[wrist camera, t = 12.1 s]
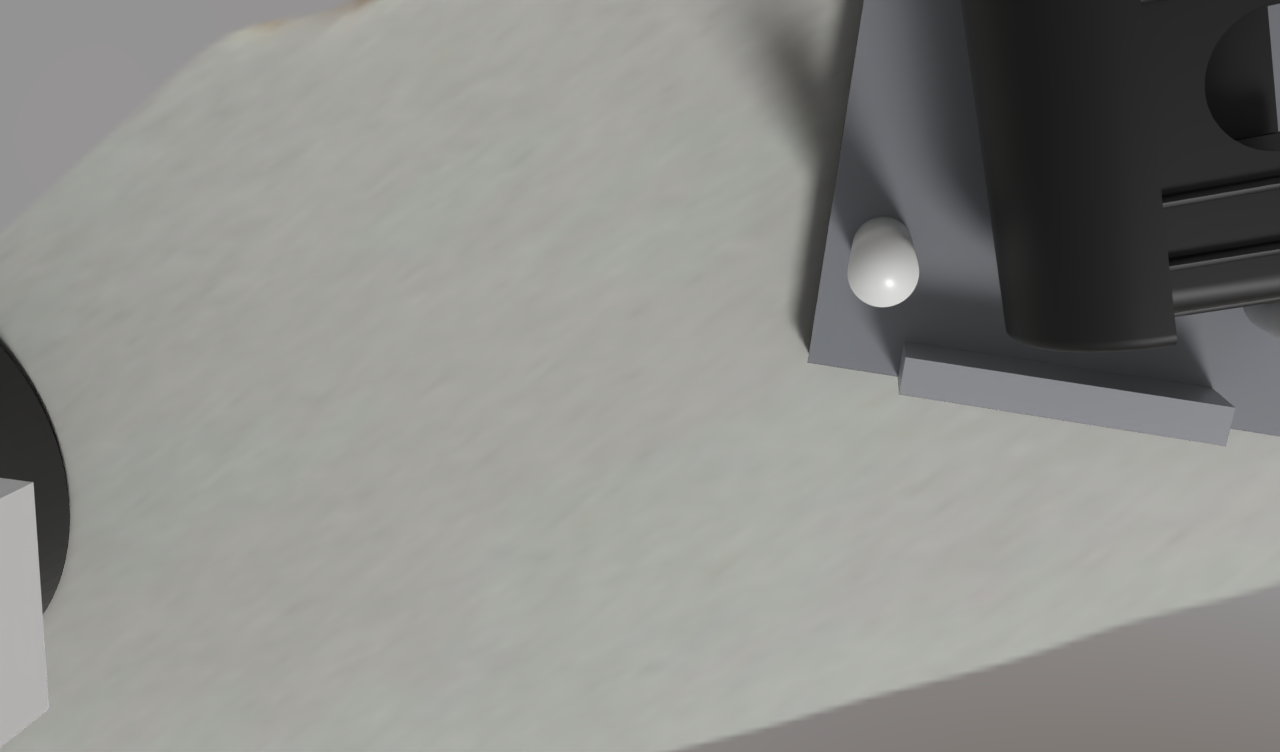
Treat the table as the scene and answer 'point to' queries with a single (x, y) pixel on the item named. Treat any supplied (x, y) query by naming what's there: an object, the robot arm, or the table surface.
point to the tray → (992, 265)
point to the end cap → (1126, 164)
